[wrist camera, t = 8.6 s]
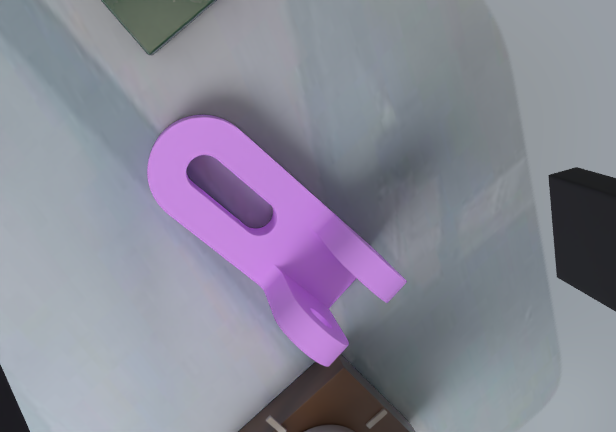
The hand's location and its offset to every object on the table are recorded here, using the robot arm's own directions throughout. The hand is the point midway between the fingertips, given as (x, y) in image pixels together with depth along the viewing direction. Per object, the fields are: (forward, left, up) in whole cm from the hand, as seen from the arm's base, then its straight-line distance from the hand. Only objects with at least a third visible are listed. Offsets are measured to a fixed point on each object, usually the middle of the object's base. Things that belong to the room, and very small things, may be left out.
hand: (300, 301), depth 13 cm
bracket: (-2, +2, -19) cm, 19 cm away
